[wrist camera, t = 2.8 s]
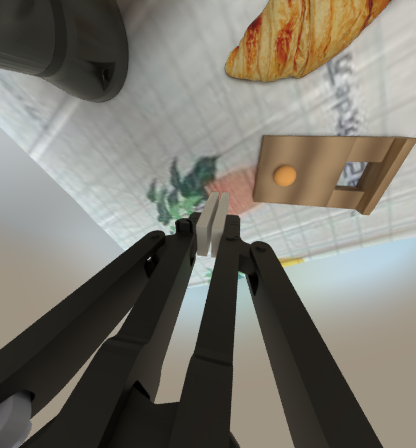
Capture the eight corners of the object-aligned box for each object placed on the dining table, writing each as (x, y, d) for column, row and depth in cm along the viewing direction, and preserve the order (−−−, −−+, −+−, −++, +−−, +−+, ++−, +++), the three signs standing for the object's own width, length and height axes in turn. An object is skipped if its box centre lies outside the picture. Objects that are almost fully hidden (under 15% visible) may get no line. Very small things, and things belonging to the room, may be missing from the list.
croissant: (234, 98, 28) (239, 122, 23) (208, 13, 20) (209, 26, 16) (399, 4, 19) (452, 15, 15) (462, -200, 12) (604, -291, 8)
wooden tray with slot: (252, 196, 32) (254, 206, 29) (262, 135, 27) (266, 137, 23) (363, 204, 29) (381, 216, 26) (402, 136, 23) (433, 139, 20)
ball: (270, 182, 28) (273, 188, 25) (275, 163, 26) (278, 167, 24) (290, 183, 27) (295, 189, 25) (295, 164, 26) (301, 168, 23)
